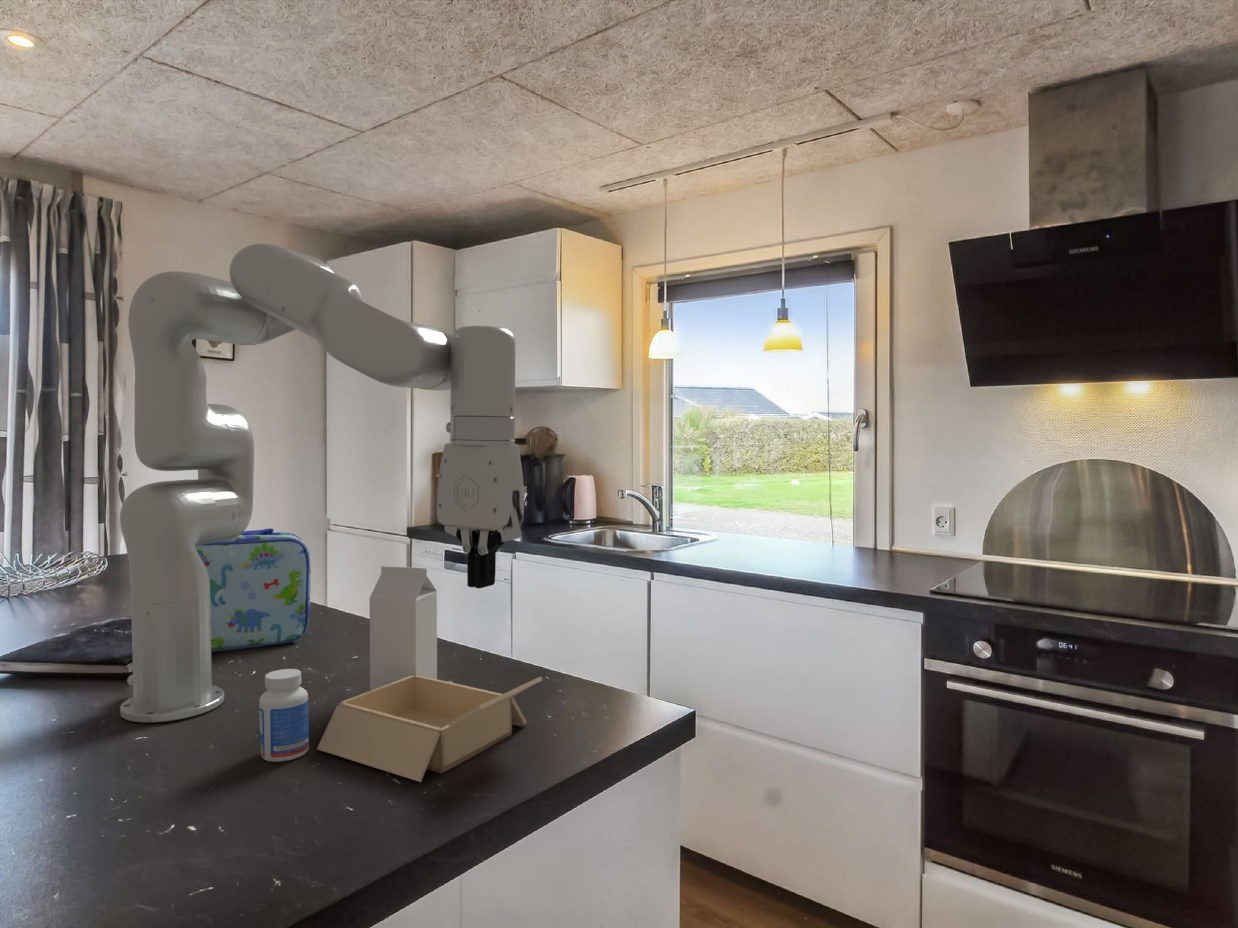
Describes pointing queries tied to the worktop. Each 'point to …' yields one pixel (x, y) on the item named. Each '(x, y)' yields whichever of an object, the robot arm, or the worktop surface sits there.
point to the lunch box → (257, 589)
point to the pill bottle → (283, 717)
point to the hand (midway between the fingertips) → (481, 585)
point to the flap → (494, 701)
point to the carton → (417, 726)
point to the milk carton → (402, 626)
